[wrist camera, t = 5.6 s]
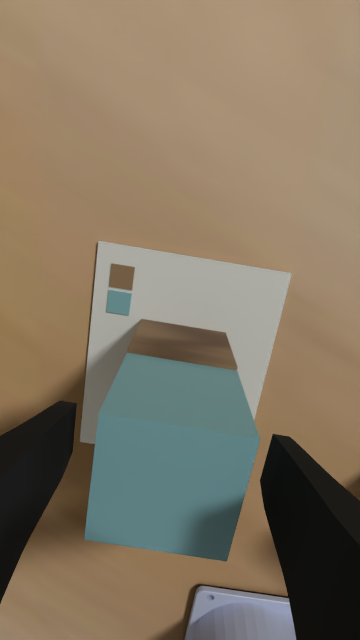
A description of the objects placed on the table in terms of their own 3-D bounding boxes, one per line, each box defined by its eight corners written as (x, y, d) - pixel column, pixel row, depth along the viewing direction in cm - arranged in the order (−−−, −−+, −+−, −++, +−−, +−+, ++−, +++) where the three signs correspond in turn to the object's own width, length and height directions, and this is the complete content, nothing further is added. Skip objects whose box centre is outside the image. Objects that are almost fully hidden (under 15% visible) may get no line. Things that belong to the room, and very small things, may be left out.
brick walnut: (225, 332, 18) (237, 367, 14) (209, 406, 20) (216, 460, 15) (141, 318, 18) (127, 349, 14) (131, 394, 20) (114, 444, 15)
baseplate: (290, 273, 18) (292, 273, 17) (241, 464, 21) (242, 468, 21) (99, 240, 17) (98, 241, 17) (80, 439, 21) (79, 442, 20)
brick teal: (237, 370, 14) (260, 439, 10) (215, 463, 15) (226, 561, 11) (127, 352, 14) (98, 413, 9) (114, 447, 15) (83, 539, 11)
